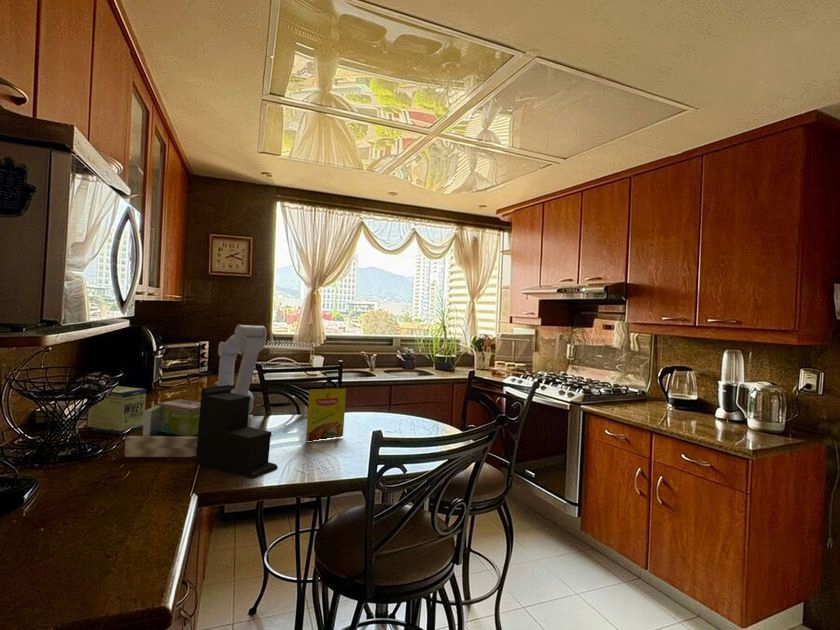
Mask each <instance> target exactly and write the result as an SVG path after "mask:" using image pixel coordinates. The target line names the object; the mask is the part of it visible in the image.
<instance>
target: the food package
mask: <svg viewBox="0 0 840 630" xmlns="http://www.w3.org/2000/svg"><path fill="white" fill-rule="evenodd" d="M308 391H309V393H308V405H307V407H308V408H307V419H306V420H307V421H306V435H305V436H306V437H305V442H306V441H313V440H319V439H327V438H334V437H341V436H343V437H344V426H345V425H344V423H345V410H346V395H347V388H323V389H319V388H318V389H309V390H308Z"/></svg>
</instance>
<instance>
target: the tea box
mask: <svg viewBox="0 0 840 630" xmlns="http://www.w3.org/2000/svg"><path fill="white" fill-rule="evenodd" d="M200 404H201V401H200V402H199V401H194V400H187V399H180V398H178V399H174V400H169V401H163V402H157V403H156V405H158V406H162V417H161V430H160V436H181V437H198V427H199V416H200Z"/></svg>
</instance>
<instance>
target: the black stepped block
mask: <svg viewBox="0 0 840 630" xmlns="http://www.w3.org/2000/svg"><path fill="white" fill-rule="evenodd" d="M231 387H232V385H223V386H218V385H216V386H209V387H208V386H207V387H202V388H201V395H200V402H201V404H200V416H199V427H198V438H197V450H196V457H195V464H197V465H198V464H199V465H203V466H204V467H205V466H206V467H208V468H209V467H210V468H212V469H215V470H220V471H223V472H227V473H231V474H234V475H237V476H238V475H239V476H240V477H241V476H242V477H245V478H249V479H255V478H257V477H260V476H263V475H266V474H267V473H270V472H273V471H275V470H278V465H277V463H273V462H270V461H269V460H270V459H269V458H270V457H269V456H270V445H271V437H272V431H268V430H264V429H259V428H255V427H253V428H251V427H247V426H248V415H250V412H249V401H250V398H251V397H250V396H245V395H240V394H234V393H231Z"/></svg>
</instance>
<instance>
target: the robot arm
mask: <svg viewBox="0 0 840 630" xmlns="http://www.w3.org/2000/svg"><path fill="white" fill-rule="evenodd" d="M267 337H268V335H267V328H266V327H265V326H264V325H250V324H249V325H248V324H247V325H245V324H237V325H236V327H235V329H234V334H232V335H231V336H230V337H229V338H228V339H227V340H225V342H224V341H220V342H219V344H218V348H217V353H218V356H219V364H218V365H219V366H218V379H217V381H215V382H214V385H216V386H223V385H231V393H234V394H240V395H245V396H250V397H251V398H250V401H249V413H251V412H252V411H253V408H254V401H255V397H254V394H253V392H251V391H250V390H249V389H250V385H251V382H252V377H253V374H254V371H255V369H256V368H255V367H256V364H257V361H258V360H257V359H258V357H259V353H260V352H262V351H263V350H264V348H265V345H266V340H267ZM239 351H240V352H241V353H242V357H241V358H242V359H241V361H240V366H239V370H238V374H237V378H236V382H235V384H234V380H235V379H234V378H235V363H236V361H237V356H238V353H239ZM233 386H234V387H233ZM247 427H251V428H254V415H253V414H249V415H248V426H247Z"/></svg>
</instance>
